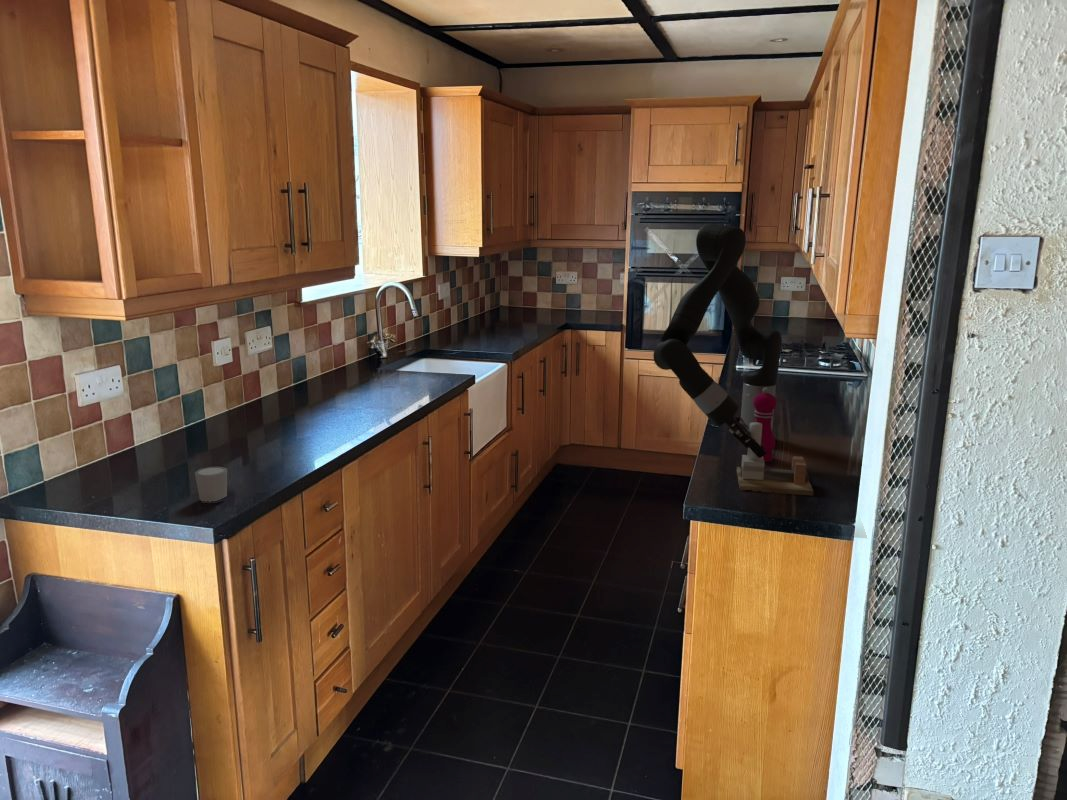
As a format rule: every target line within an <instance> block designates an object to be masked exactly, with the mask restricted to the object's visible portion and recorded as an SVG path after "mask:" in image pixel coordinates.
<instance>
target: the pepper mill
mask: <svg viewBox="0 0 1067 800" xmlns="http://www.w3.org/2000/svg"><path fill="white" fill-rule="evenodd" d="M762 391H763V393H760V394H758V395H756V397H755V398H754V401H753V404H754V407H755V408H756V410H755V414H754V415H755V416H756V422H757V423H761V424H762V436H761V444H762V445H763V446H764V448H765V449H764V450H765V452H766V454H765V455H764V456H763V459H764V462H765V463H768V462H769V463H770V462H772V460H773V453H772V451H773V450H774V449H775V448H776V440H775V436H774V433H773V429H772V430H771V419H772V417H773V418H774V414H775V413H774V412H773V409H774V410H775V409H776V407H777V398H776V396H775V397H774V396H773V395H771V394H769V389H768V388H764V389H763V390H762ZM773 413H774V414H773Z"/></svg>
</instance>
